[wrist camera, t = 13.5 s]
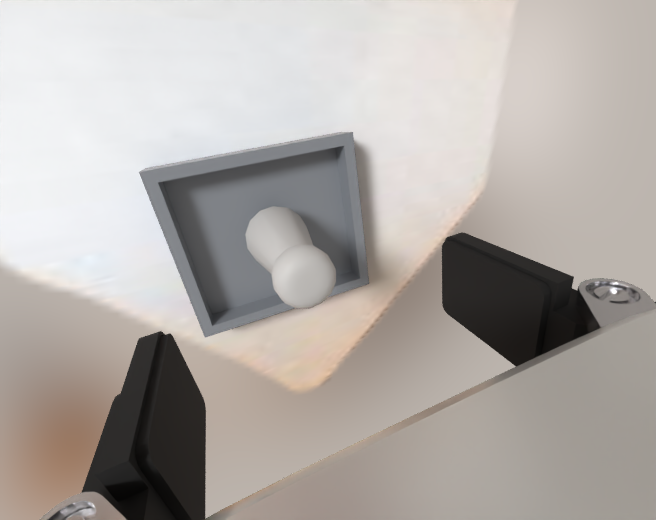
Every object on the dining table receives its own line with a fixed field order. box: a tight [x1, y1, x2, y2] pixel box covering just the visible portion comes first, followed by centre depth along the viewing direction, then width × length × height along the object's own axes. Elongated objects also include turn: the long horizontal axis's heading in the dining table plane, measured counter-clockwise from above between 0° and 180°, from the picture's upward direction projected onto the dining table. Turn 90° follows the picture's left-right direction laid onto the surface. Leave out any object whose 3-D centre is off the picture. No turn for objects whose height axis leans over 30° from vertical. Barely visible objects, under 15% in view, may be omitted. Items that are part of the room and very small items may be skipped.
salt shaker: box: [245, 206, 336, 308], centre depth 26 cm, size 6×6×13 cm
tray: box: [139, 132, 369, 337], centre depth 31 cm, size 18×16×3 cm
